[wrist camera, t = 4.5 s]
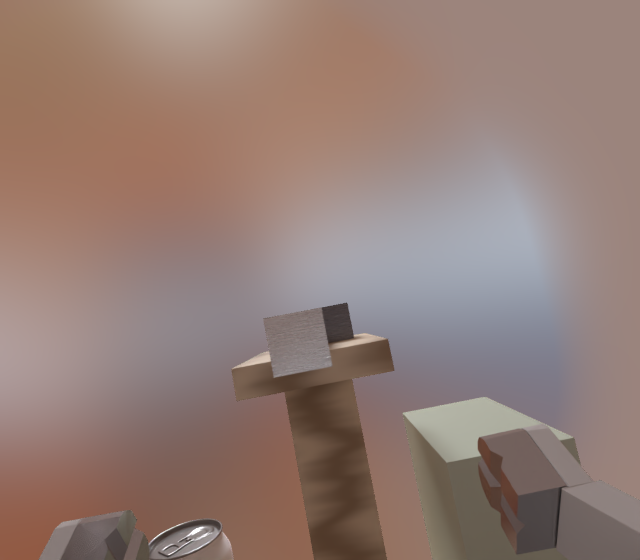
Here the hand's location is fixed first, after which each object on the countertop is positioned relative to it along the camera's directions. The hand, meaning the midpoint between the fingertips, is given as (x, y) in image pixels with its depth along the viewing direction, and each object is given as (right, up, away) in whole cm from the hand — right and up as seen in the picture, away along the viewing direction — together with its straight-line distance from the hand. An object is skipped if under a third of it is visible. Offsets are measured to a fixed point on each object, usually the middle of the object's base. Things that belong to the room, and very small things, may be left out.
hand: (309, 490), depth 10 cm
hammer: (0, 0, +17) cm, 17 cm away
